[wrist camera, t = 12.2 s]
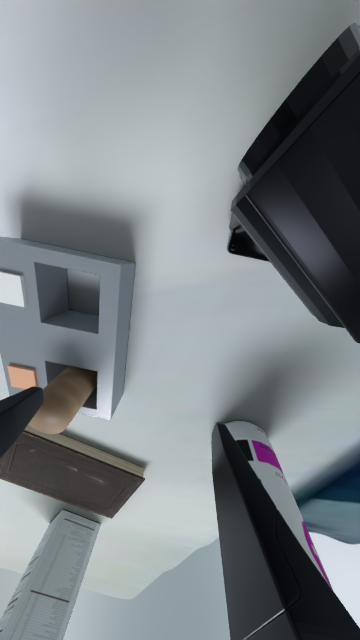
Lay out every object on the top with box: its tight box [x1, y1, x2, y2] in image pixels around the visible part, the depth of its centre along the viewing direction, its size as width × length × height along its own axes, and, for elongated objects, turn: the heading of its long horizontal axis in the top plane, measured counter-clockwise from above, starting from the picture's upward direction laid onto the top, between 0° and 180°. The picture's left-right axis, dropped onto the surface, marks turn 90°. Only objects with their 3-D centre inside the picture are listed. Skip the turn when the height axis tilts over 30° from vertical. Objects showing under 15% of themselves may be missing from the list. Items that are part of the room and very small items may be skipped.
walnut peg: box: [29, 366, 98, 434], centre depth 19 cm, size 4×4×8 cm
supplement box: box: [0, 510, 100, 640], centre depth 31 cm, size 10×9×17 cm
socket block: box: [0, 237, 136, 420], centre depth 19 cm, size 12×18×4 cm, turn 169°
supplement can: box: [211, 421, 332, 589], centre depth 19 cm, size 8×8×15 cm
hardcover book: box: [0, 424, 145, 519], centre depth 31 cm, size 16×23×2 cm
